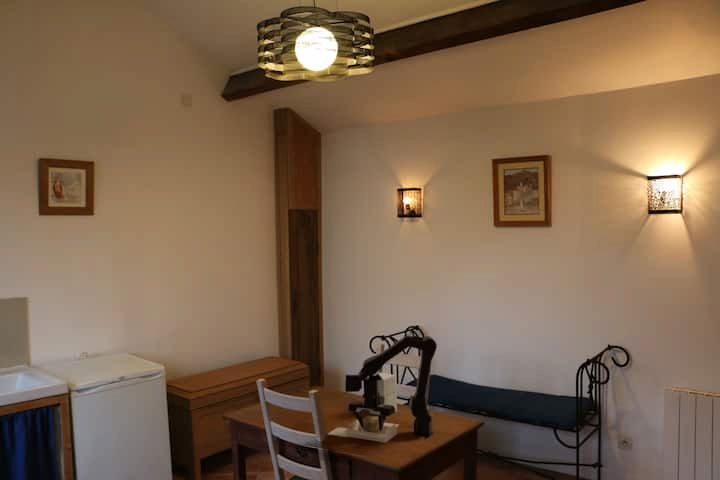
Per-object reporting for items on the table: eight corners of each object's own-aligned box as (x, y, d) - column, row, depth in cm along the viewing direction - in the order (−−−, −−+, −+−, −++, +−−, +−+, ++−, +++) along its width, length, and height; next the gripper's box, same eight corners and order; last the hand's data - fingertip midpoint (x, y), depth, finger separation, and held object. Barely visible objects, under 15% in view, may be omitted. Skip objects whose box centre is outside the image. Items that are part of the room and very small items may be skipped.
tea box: (380, 434, 244) (380, 416, 244) (374, 438, 240) (374, 420, 240) (369, 432, 247) (368, 415, 247) (363, 436, 242) (362, 419, 242)
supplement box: (381, 408, 281) (380, 372, 281) (397, 411, 276) (396, 374, 275) (368, 413, 274) (367, 376, 274) (385, 416, 268) (383, 379, 268)
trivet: (357, 431, 250) (357, 430, 250) (346, 438, 242) (346, 437, 242) (338, 428, 254) (338, 427, 254) (327, 435, 246) (327, 433, 246)
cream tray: (399, 433, 246) (399, 421, 246) (382, 446, 232) (381, 433, 232) (362, 427, 255) (362, 415, 254) (343, 440, 240) (343, 427, 240)
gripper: (400, 388, 246) (401, 426, 246) (359, 383, 254) (361, 420, 255) (388, 395, 236) (389, 435, 236) (346, 390, 245) (348, 428, 245)
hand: (371, 429), depth 243 cm, fingers open, 8 cm apart
